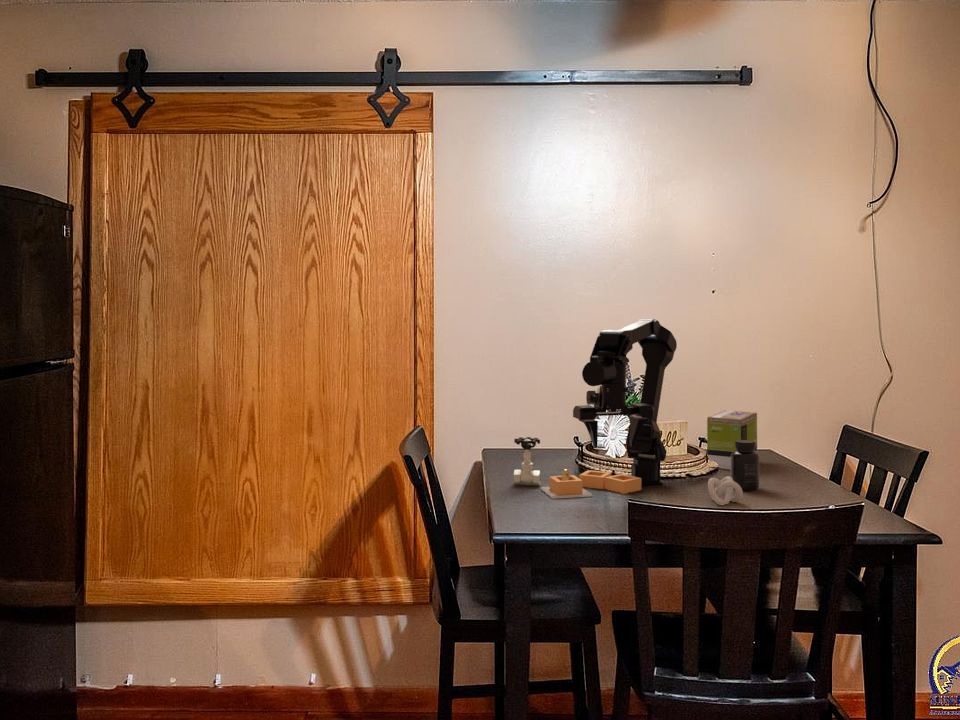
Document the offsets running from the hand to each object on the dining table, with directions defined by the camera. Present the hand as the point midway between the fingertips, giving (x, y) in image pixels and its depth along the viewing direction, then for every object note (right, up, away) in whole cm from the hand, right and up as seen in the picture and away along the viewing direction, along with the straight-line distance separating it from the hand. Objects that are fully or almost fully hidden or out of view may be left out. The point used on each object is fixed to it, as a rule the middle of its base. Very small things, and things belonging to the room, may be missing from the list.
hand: (613, 447), depth 193 cm
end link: (-11, -11, +5) cm, 16 cm away
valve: (-20, -11, +13) cm, 26 cm away
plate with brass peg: (-11, -12, +5) cm, 17 cm away
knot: (+25, -13, -5) cm, 28 cm away
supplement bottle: (+34, -12, +8) cm, 37 cm away
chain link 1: (-3, -11, +13) cm, 17 cm away
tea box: (+40, -9, +37) cm, 56 cm away
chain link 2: (+4, -11, +8) cm, 14 cm away
